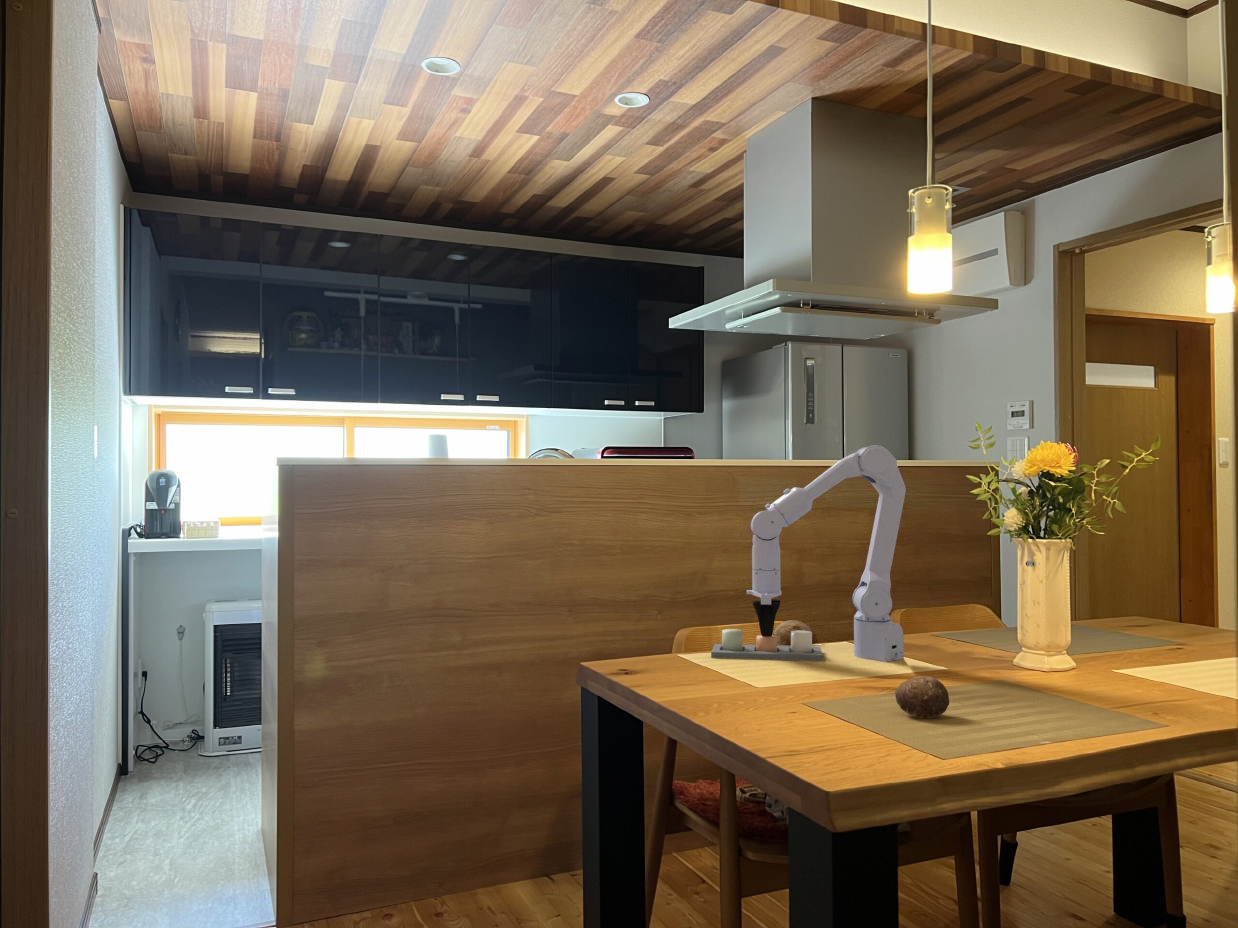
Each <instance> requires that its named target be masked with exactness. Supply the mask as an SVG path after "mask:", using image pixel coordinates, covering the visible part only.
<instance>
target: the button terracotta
mask: <svg viewBox="0 0 1238 928" xmlns="http://www.w3.org/2000/svg"><path fill="white" fill-rule="evenodd" d="M755 639H756V641H755V642H756V643H755V645H756V651H766V652H777V646H778V643H777V636H775V635H773V634H772V636H762V635H761V634H757V635H756V637H755Z"/></svg>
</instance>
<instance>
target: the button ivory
mask: <svg viewBox="0 0 1238 928" xmlns="http://www.w3.org/2000/svg"><path fill="white" fill-rule="evenodd" d="M790 646H791V652H802V653H812V647H813V644H812V632H810V631H791V645H790Z"/></svg>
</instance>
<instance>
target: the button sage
mask: <svg viewBox="0 0 1238 928" xmlns="http://www.w3.org/2000/svg"><path fill="white" fill-rule="evenodd" d="M743 633H744V632H743V630H742V629H740V628H725V629H722V630H721V644H722V650H730V651H743V645H744V644H743V640H744V639H743V638H744V637H743V636H744V635H743Z"/></svg>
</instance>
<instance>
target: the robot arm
mask: <svg viewBox="0 0 1238 928" xmlns="http://www.w3.org/2000/svg"><path fill="white" fill-rule="evenodd" d="M856 477H857V478H858V477H862V478H864V479H865V480H867V481H868V482H870V485H872V486H873V488H874V490H876V492H877V493H878V495H879V496H878V501H877V507H876V510H875V511H876V512H875V516H874V521H873V525H872V532H871V535H870V543H869V546H868V552H867V556H866V562H865V568H864V570H863V573H862V575H861V578H860V581H859V584H858V586H857V587H856V588H855V589H854V591H853V592H852V593H853V594H852V603H853V606H854V607H855V609H856V610H857V611H856V612H855V614H853V652H854V653H853V656H854V657H856V658H860V659H863V660H864V659H865V660H874V661H879V662H884V663H886V662H892V661H899V660H905V653H904V652H905V651H904V647H905V645H904V644H905V642H904V641H905V640H904V639H905V637H904V630H903V627H902V626H901V625H900V624H899V623H897V622H893V621H892V620H891V618H892V617H891V615H889V614H890V613H891V612H892V609H893V599H892V597H891V596H892V595H891V587H892V582H891V569H892V566H893V560H894V554H895V549H896V544H897V539H898V533H899V528H900V524H901V517H902V513H903V507H904V502H905V497H906V493H907V492H906V490H907V489H906V485H905V482H904V480H903V477H902V474H901V472H900V469H899V466H898V462H897V458H896V457H895V456H894V455H893V454H892V452H890V451H889V450H888V448H885V447H884V446H882V445H880V444H879V445H878V444H874V445H869V446H865V447H864V446H863V447H861V448H859V449H857V451H855V452H853V453H851V454H849V455H846V456H845V457H843V458H841V459H840V460H838V461H837V462H836V463H834V464H833V465H832V466H830V467H829V468H828V469H826V470H825V471H824V472H822V473H821V474H820V475H818V477H816V478H814V480H812V481H811V482H810V483H808V484H807V485H806V486H805V487H803V488H802V487H799V486H798V487H797V486H795V487H792V488H791V489H790V488H786V489H784V490H783V492H782V493H783V495H781V496H780V497H779V498H777V499H775V501H773V502H772V503H771V504H770V503H766V504H765V505H764V507H765V509H766V510H761V511H759V512H757V513H756V514H754V516H753V517H752V519H751V523H750V529H751V532H752V533H753V534H752V546H751V547H752V548H751V558H752V559H751V566H752V567H751V569H752V571H751V572H752V574H751V576H752V578H751V579H752V580H751V581H752V582H751V585H752V589H746V595H752V596H754V597H757V598H760V600H752V605H753V608H754V610H755V612H756V615H757V620H758V625H759V630H760V635H762V636H772V635H773V632H774V630H775V629H774V627H775V620H776V615H777V614H778V613H777V612H778V610H779V608H780V607H781V599H774V598H776V597H779V596H781V595H782V590H781V587H782V586H781V547H780V535H781V533H782V530H783V527H785V528H788V527H789V526H790V525H792V524H793V523H795V522H796V521H797V520H799V519H800V518H801V517H803V516H804V515H806V514H807V513H808V512H810V511H811V510H812V509H813V508H812V507H813V503H814V502H813V501H814V500H816V499H818V498H819V497H820V496H821V495H823V494H824V493H826V492H828V491H829V490H830V489H832V488H833V487H834V486H836V485H837V484H839V483H840V482H842V481H844V480H845V479H850V478H856Z"/></svg>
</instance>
